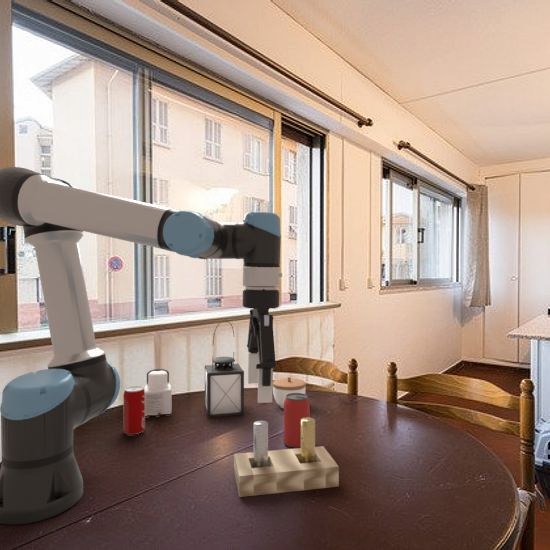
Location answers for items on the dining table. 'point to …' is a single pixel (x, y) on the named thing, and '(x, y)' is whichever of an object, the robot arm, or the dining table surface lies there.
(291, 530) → the dining table surface
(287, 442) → the beer can
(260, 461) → the steel pin
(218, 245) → the robot arm
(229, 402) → the lantern
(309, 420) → the brass pin
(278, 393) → the lidded jar
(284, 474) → the pin block
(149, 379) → the container
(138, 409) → the soda can
